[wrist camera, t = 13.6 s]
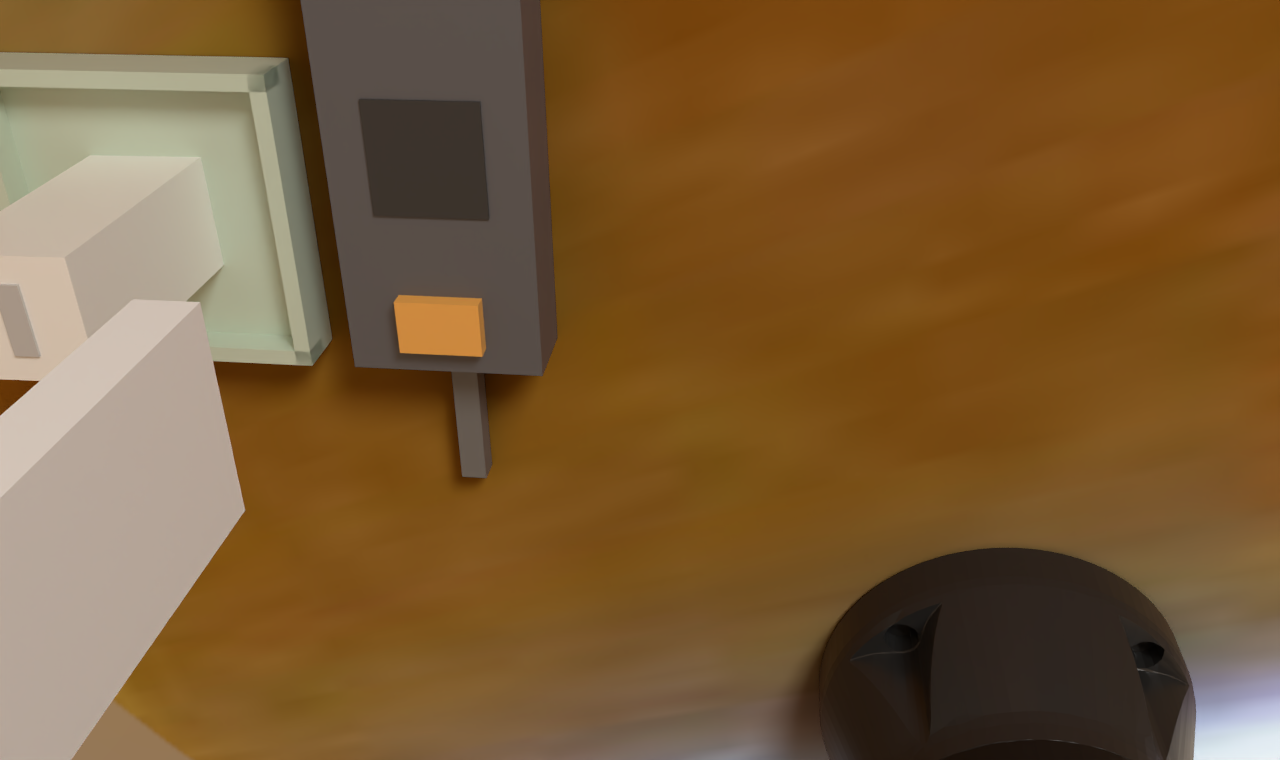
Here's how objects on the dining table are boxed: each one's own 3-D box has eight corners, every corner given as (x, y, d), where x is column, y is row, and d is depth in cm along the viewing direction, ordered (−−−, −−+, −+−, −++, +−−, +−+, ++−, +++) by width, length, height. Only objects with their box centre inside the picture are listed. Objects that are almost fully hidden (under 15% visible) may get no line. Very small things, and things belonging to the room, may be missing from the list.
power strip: (564, 468, 48) (547, 520, 45) (397, 459, 49) (370, 509, 46) (518, -417, 33) (489, -430, 30) (281, -411, 34) (228, -423, 31)
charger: (223, 265, 44) (98, 384, 36) (118, 262, 45) (-28, 380, 37) (200, 157, 42) (62, 259, 34) (90, 155, 43) (-71, 255, 35)
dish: (332, 339, 46) (312, 365, 44) (69, 326, 47) (39, 352, 46) (288, 57, 41) (263, 74, 39) (-8, 52, 42) (-46, 68, 40)
